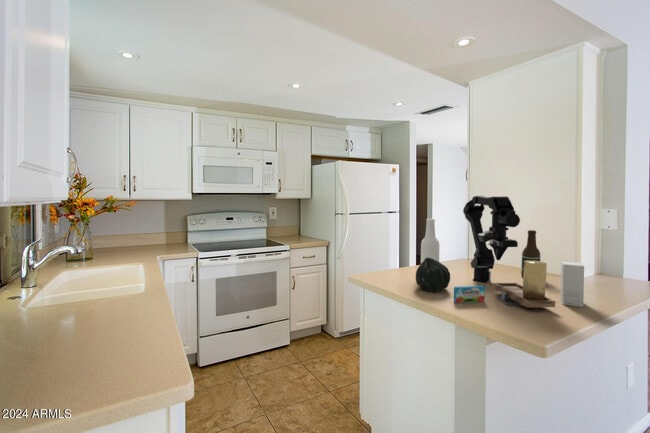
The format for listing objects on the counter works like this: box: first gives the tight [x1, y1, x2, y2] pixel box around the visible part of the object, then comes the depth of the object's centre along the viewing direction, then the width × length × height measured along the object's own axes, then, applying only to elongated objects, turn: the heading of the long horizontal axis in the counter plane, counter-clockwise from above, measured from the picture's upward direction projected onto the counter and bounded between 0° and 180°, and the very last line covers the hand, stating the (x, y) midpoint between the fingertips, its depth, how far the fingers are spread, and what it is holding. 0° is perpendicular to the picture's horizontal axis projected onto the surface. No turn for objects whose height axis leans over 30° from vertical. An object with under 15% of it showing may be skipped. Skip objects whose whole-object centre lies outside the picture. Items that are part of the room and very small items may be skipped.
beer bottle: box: [520, 229, 541, 279], centre depth 161 cm, size 8×8×24 cm
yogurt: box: [453, 285, 486, 304], centre depth 127 cm, size 12×2×6 cm, turn 95°
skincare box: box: [560, 261, 585, 308], centre depth 125 cm, size 8×7×16 cm
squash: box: [415, 258, 451, 293], centre depth 144 cm, size 14×15×15 cm
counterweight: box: [522, 260, 547, 300], centre depth 119 cm, size 7×7×14 cm
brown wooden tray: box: [492, 282, 556, 308], centre depth 127 cm, size 23×10×2 cm, turn 1°
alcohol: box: [420, 218, 440, 264], centre depth 162 cm, size 9×9×30 cm
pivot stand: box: [495, 292, 523, 306], centre depth 127 cm, size 8×15×4 cm, turn 91°
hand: (498, 260), depth 143 cm, fingers closed
